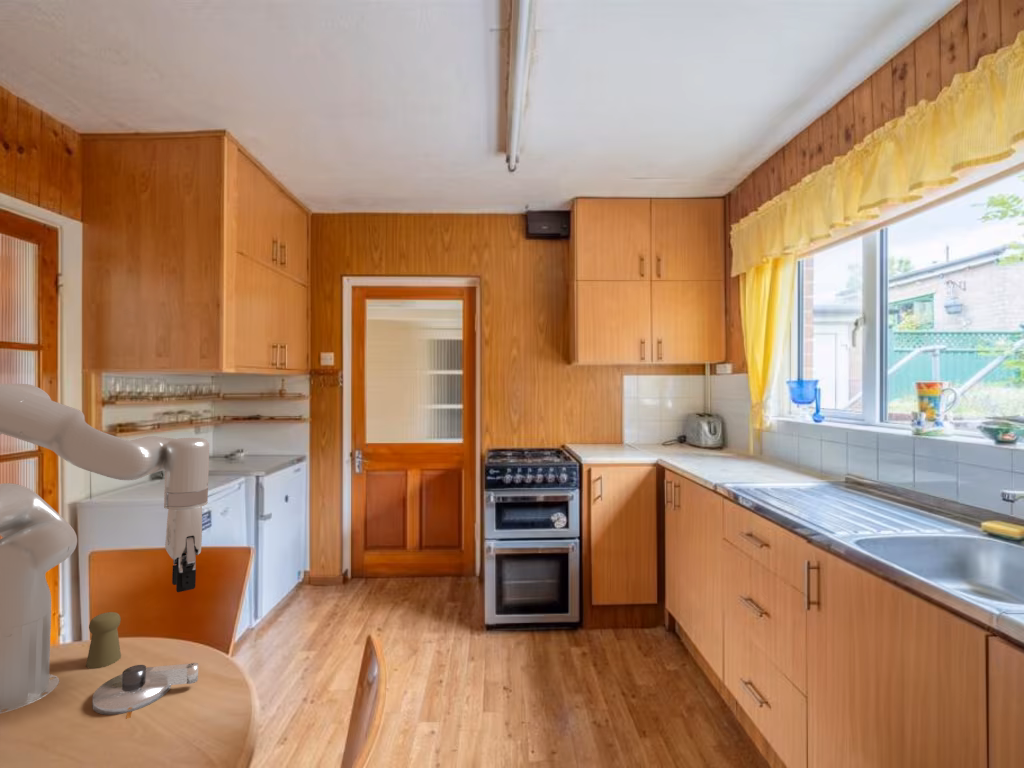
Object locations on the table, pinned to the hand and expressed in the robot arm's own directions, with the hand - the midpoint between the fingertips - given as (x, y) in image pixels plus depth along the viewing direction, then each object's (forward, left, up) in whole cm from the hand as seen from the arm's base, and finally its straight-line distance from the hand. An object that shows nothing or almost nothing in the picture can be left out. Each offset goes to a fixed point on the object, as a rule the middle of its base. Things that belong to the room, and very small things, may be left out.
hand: (183, 585), depth 100 cm
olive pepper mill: (-19, +4, -19) cm, 27 cm away
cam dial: (-2, -6, -18) cm, 19 cm away
